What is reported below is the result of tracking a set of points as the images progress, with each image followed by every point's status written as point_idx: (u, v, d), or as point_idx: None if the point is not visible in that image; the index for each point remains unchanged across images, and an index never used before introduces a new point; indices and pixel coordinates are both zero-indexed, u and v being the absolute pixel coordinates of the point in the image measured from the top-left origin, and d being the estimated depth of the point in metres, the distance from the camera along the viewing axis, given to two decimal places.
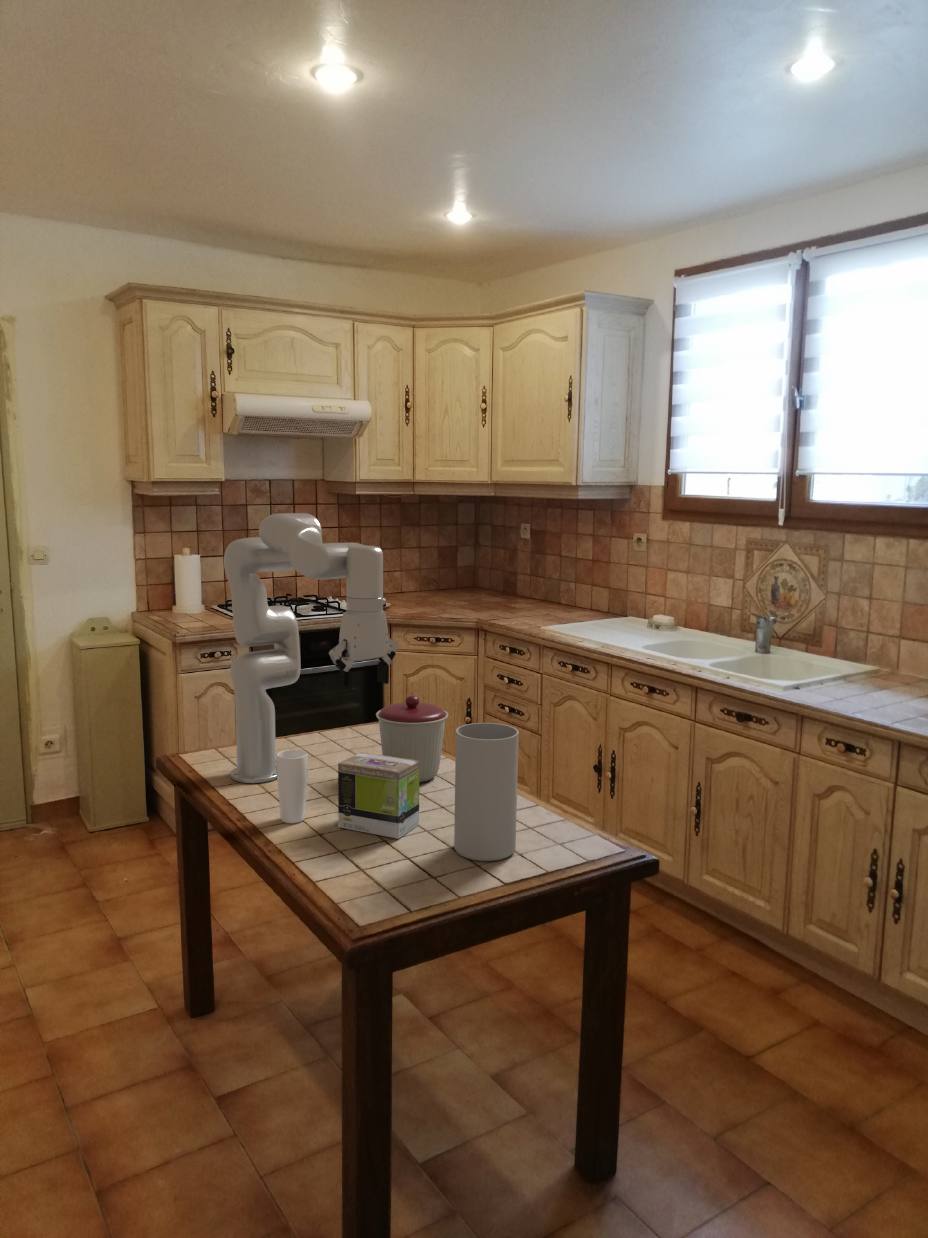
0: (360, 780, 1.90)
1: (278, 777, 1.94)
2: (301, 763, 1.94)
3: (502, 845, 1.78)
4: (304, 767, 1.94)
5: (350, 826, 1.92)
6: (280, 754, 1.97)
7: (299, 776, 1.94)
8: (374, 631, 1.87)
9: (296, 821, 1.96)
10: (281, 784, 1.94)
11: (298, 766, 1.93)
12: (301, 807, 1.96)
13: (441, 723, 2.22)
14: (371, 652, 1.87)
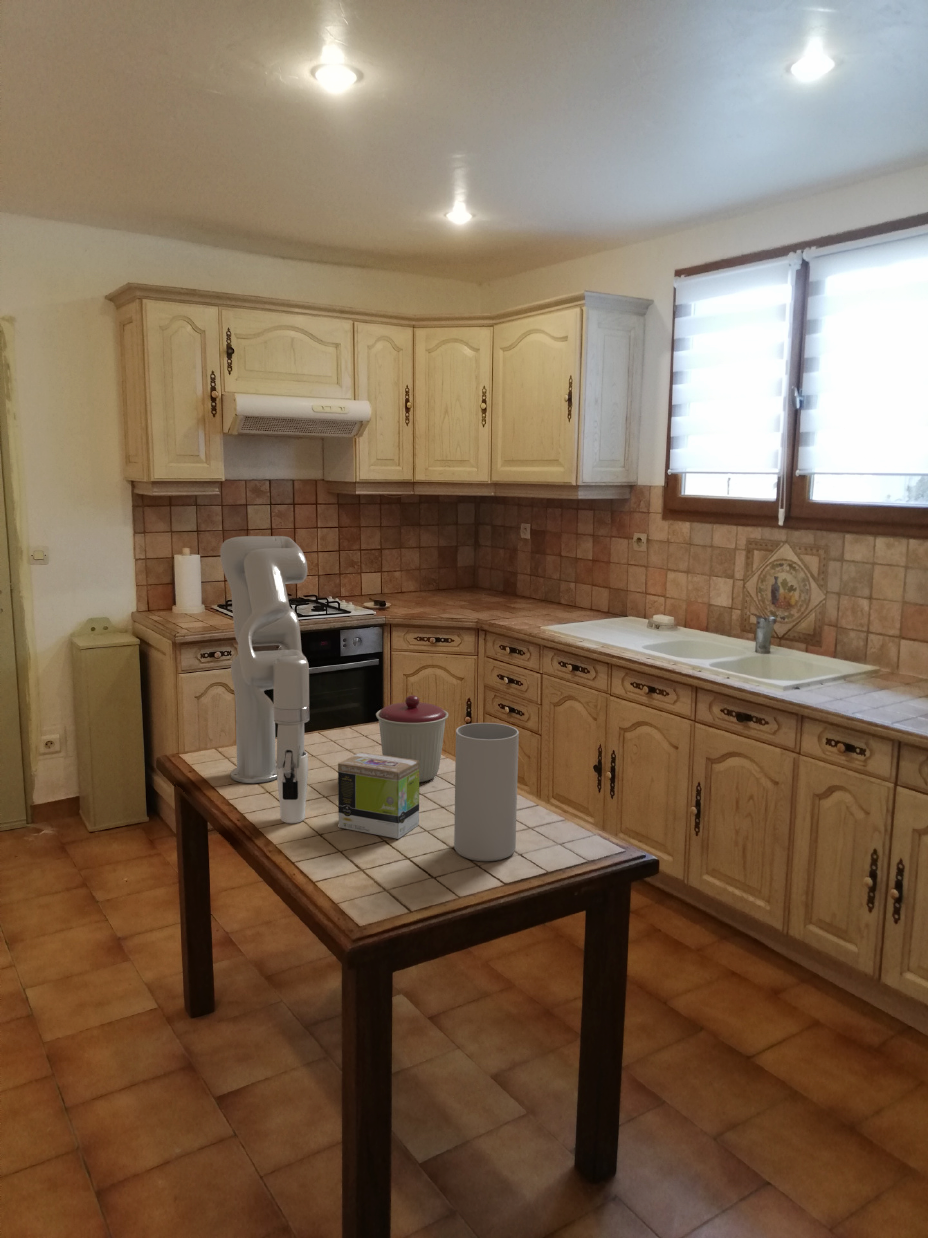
0: (360, 780, 1.90)
1: (278, 777, 1.94)
2: (301, 763, 1.94)
3: (502, 845, 1.78)
4: (304, 767, 1.95)
5: (350, 826, 1.92)
6: None
7: (299, 776, 1.94)
8: (303, 736, 1.96)
9: (296, 821, 1.96)
10: (281, 783, 1.94)
11: None
12: (301, 807, 1.96)
13: (441, 723, 2.22)
14: None
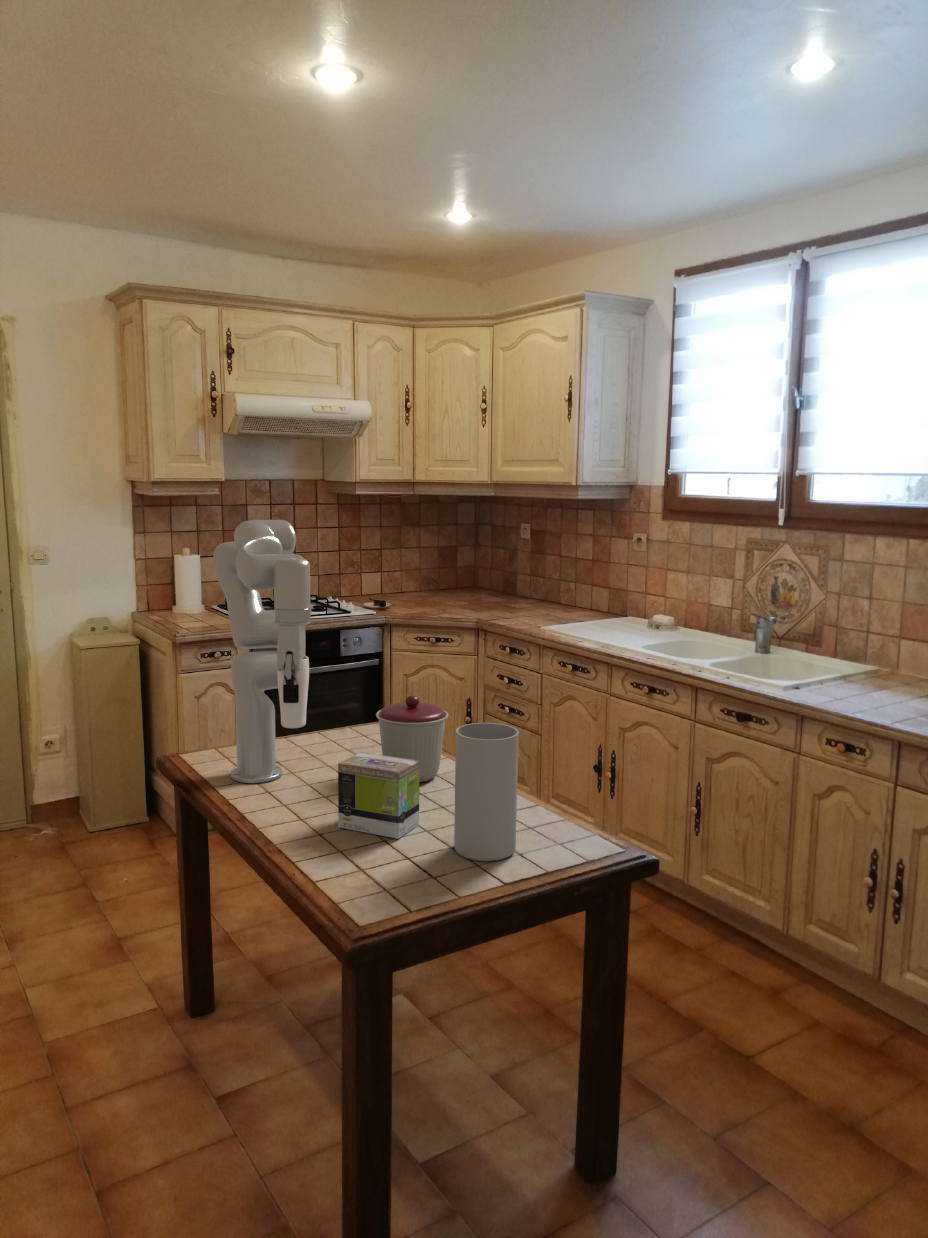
0: (360, 780, 1.90)
1: (279, 680, 1.91)
2: (302, 666, 1.90)
3: (502, 845, 1.78)
4: (305, 670, 1.91)
5: (350, 826, 1.92)
6: None
7: (300, 679, 1.91)
8: (304, 640, 1.93)
9: (297, 726, 1.92)
10: (282, 687, 1.91)
11: None
12: (302, 712, 1.93)
13: (441, 723, 2.22)
14: None
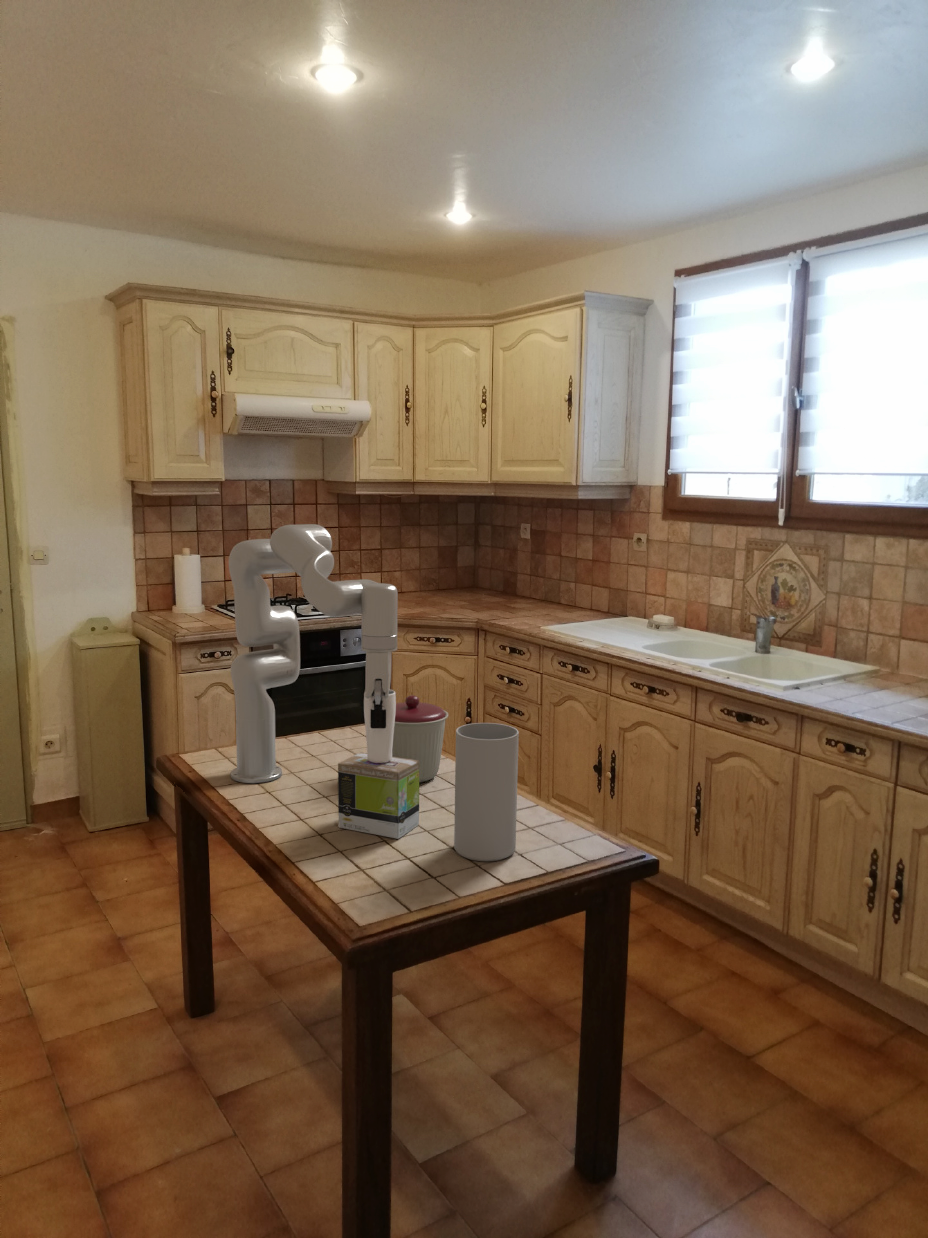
0: (360, 780, 1.90)
1: (366, 715, 1.90)
2: (390, 700, 1.89)
3: (502, 845, 1.78)
4: (393, 705, 1.90)
5: (350, 827, 1.92)
6: None
7: (388, 714, 1.89)
8: None
9: (384, 761, 1.91)
10: (369, 722, 1.89)
11: (387, 703, 1.88)
12: (389, 746, 1.91)
13: (441, 723, 2.22)
14: None
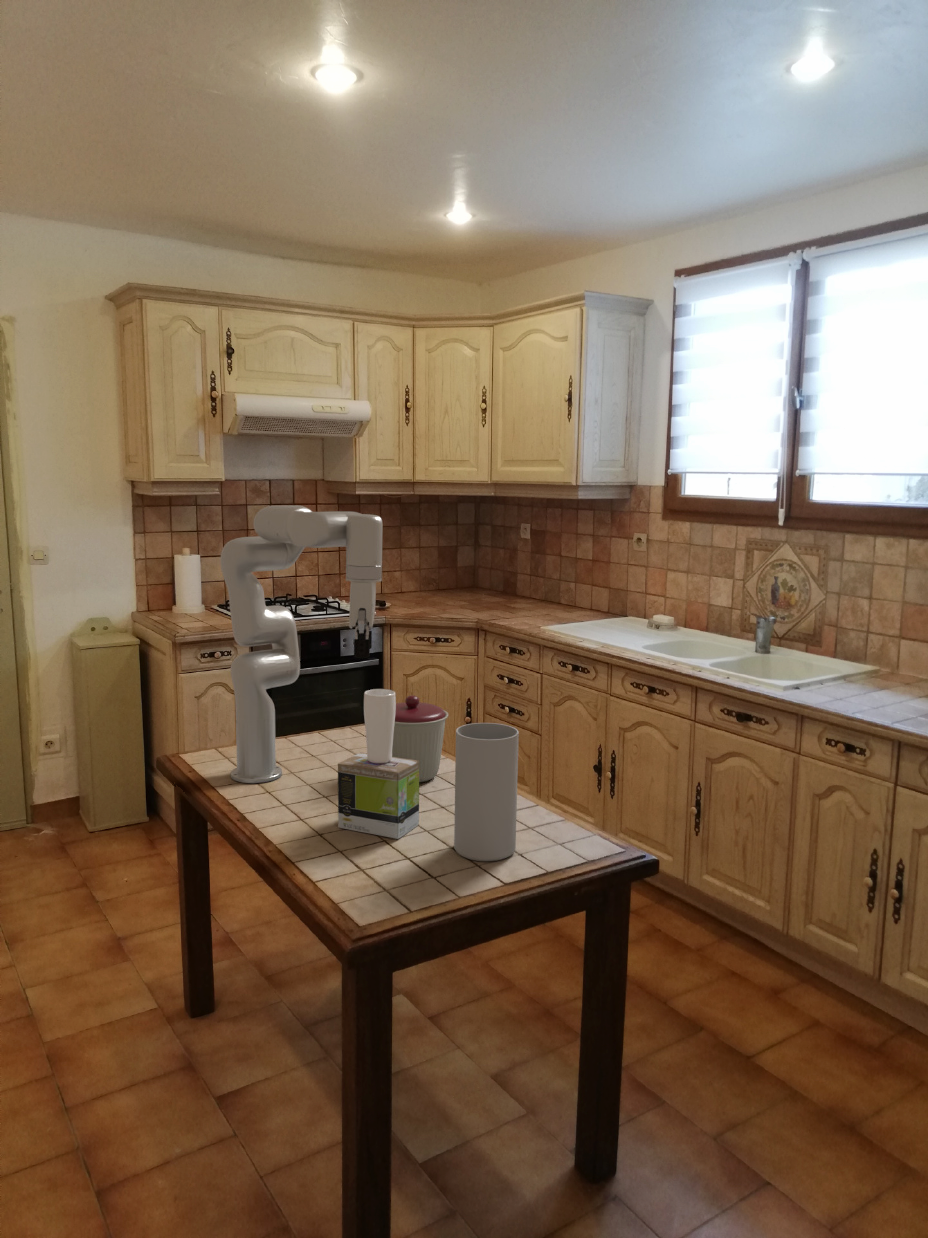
0: (360, 780, 1.90)
1: (366, 716, 1.89)
2: (390, 701, 1.89)
3: (502, 845, 1.78)
4: (393, 705, 1.90)
5: (350, 827, 1.92)
6: (367, 692, 1.92)
7: (388, 714, 1.89)
8: (375, 597, 1.91)
9: (384, 761, 1.91)
10: (369, 722, 1.89)
11: (387, 703, 1.88)
12: (389, 747, 1.91)
13: (441, 723, 2.22)
14: None
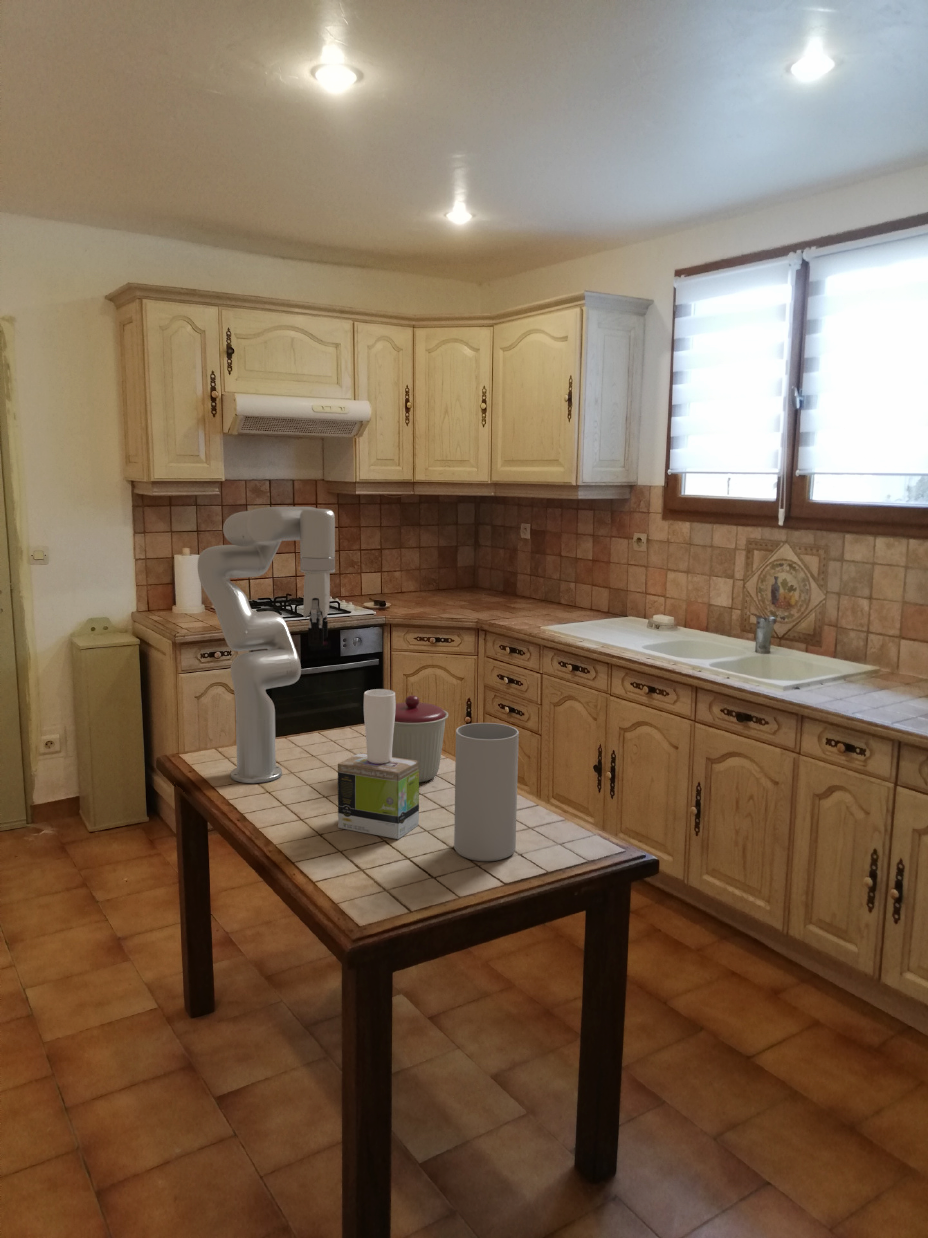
0: (360, 781, 1.90)
1: (366, 716, 1.89)
2: (390, 701, 1.89)
3: (502, 845, 1.78)
4: (393, 706, 1.90)
5: (350, 827, 1.92)
6: (367, 693, 1.92)
7: (388, 715, 1.89)
8: (329, 588, 1.99)
9: (384, 761, 1.91)
10: (369, 722, 1.89)
11: (386, 704, 1.88)
12: (389, 747, 1.91)
13: (441, 723, 2.22)
14: (328, 608, 1.99)
